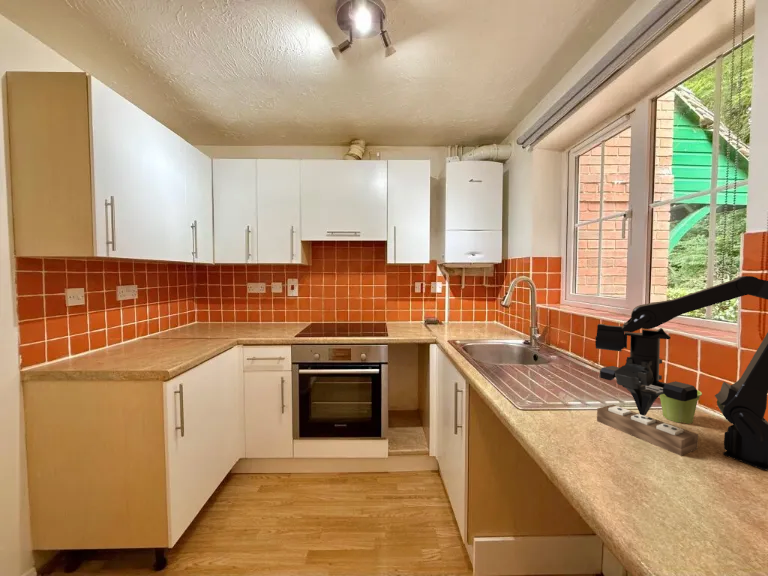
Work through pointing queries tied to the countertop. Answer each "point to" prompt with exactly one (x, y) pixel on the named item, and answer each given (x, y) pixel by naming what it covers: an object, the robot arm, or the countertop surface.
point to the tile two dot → (670, 429)
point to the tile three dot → (643, 419)
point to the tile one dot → (619, 410)
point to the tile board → (649, 431)
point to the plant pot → (679, 408)
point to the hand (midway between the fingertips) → (642, 414)
